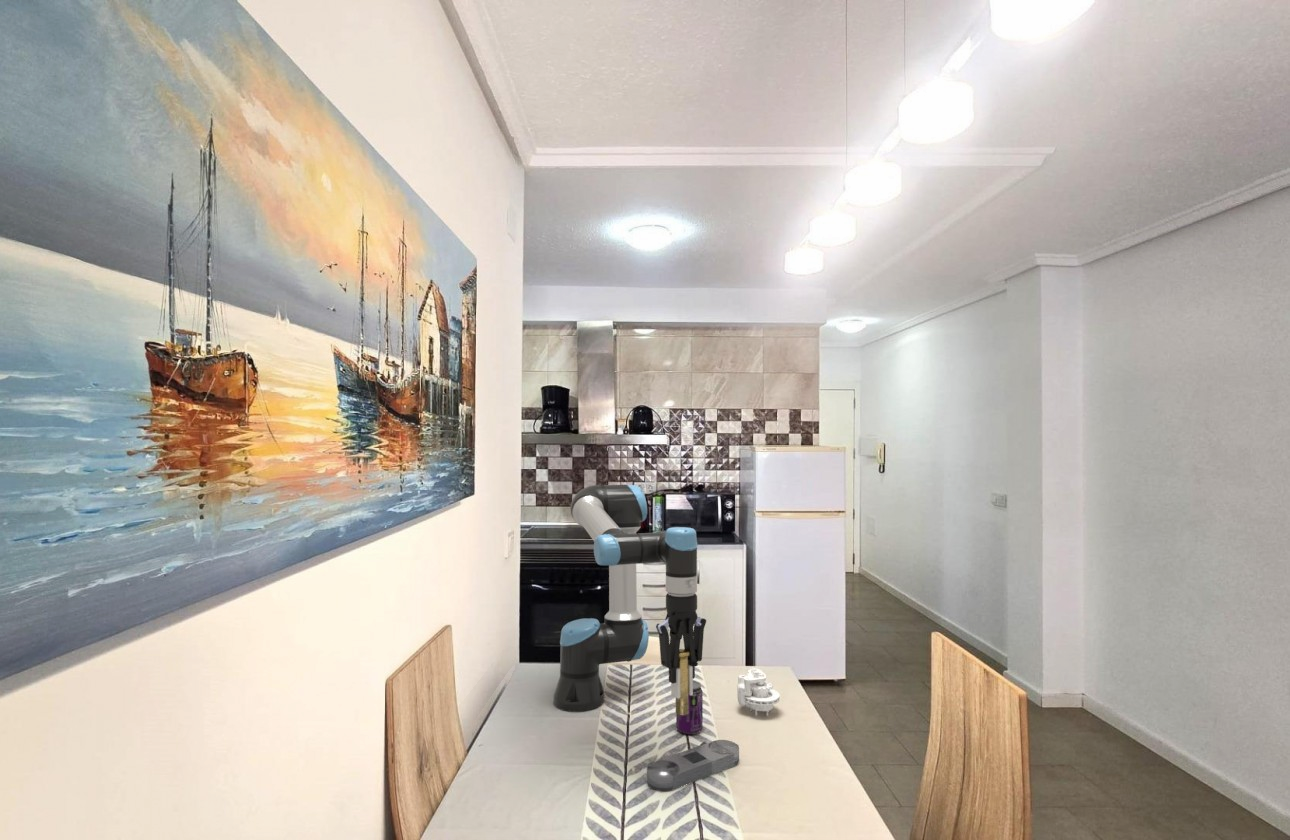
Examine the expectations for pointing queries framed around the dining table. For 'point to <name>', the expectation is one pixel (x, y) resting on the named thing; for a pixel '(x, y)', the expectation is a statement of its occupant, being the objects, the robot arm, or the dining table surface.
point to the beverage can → (692, 712)
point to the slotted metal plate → (692, 765)
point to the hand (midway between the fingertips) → (681, 694)
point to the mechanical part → (756, 692)
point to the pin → (683, 683)
